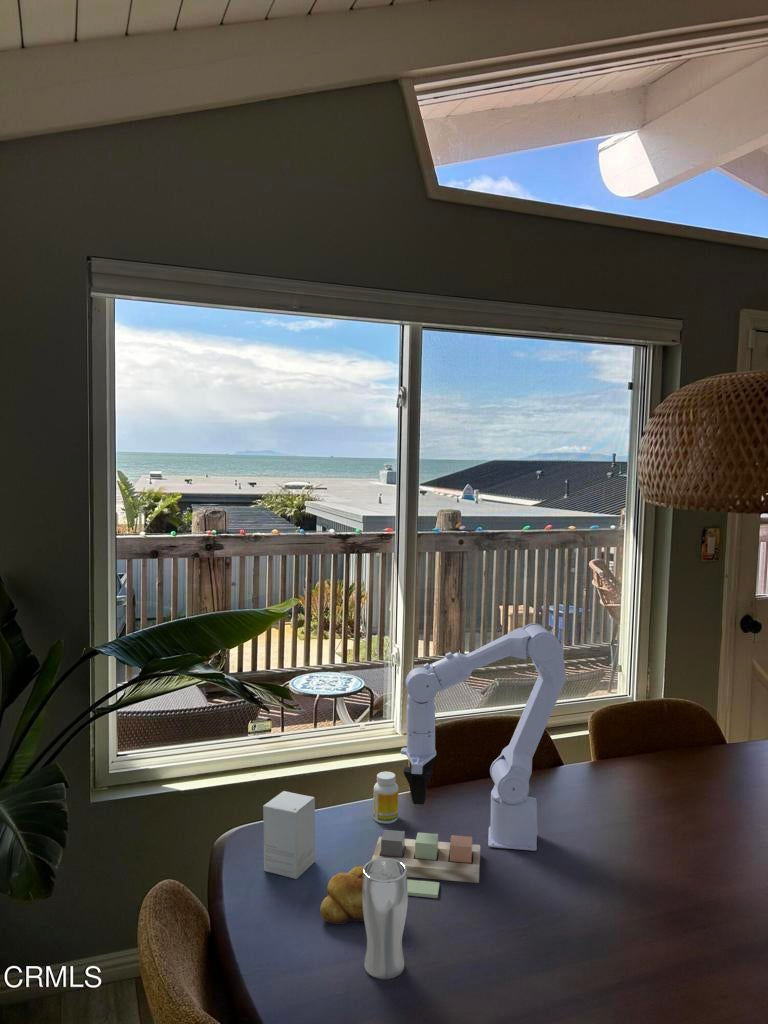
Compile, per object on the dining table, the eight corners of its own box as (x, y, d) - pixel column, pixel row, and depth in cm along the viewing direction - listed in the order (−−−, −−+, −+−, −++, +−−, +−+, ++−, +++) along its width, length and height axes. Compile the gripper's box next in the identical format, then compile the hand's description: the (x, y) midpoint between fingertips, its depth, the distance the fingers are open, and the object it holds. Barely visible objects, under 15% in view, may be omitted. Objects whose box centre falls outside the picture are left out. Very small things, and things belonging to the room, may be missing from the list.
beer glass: (360, 952, 113) (360, 857, 112) (404, 949, 114) (405, 856, 113) (362, 983, 106) (362, 882, 105) (410, 980, 107) (410, 880, 106)
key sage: (438, 849, 141) (438, 834, 140) (436, 860, 137) (436, 844, 136) (417, 847, 141) (417, 832, 141) (415, 858, 137) (415, 842, 137)
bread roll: (327, 937, 117) (327, 889, 116) (310, 904, 126) (310, 859, 125) (401, 919, 122) (401, 872, 121) (379, 889, 131) (379, 845, 130)
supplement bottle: (368, 817, 158) (368, 774, 157) (387, 810, 161) (387, 768, 161) (384, 827, 154) (384, 782, 153) (403, 819, 157) (403, 775, 156)
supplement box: (316, 861, 140) (316, 796, 139) (296, 880, 133) (296, 812, 132) (283, 852, 143) (283, 789, 142) (262, 871, 136) (262, 804, 136)
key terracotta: (472, 852, 140) (472, 836, 139) (471, 863, 136) (471, 847, 135) (451, 850, 140) (451, 835, 140) (449, 861, 136) (449, 845, 136)
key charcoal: (404, 846, 142) (404, 831, 141) (401, 857, 138) (402, 841, 137) (384, 844, 142) (384, 829, 142) (381, 855, 138) (381, 839, 138)
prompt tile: (439, 885, 132) (439, 882, 132) (437, 898, 128) (437, 894, 128) (406, 882, 132) (406, 879, 132) (403, 895, 129) (403, 891, 129)
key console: (480, 854, 142) (480, 845, 142) (478, 883, 132) (479, 872, 132) (379, 846, 145) (379, 836, 145) (370, 873, 136) (370, 862, 135)
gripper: (405, 716, 155) (406, 779, 155) (395, 740, 140) (396, 809, 141) (439, 718, 153) (439, 781, 154) (432, 742, 139) (432, 812, 140)
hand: (420, 795), depth 147 cm, fingers open, 7 cm apart
